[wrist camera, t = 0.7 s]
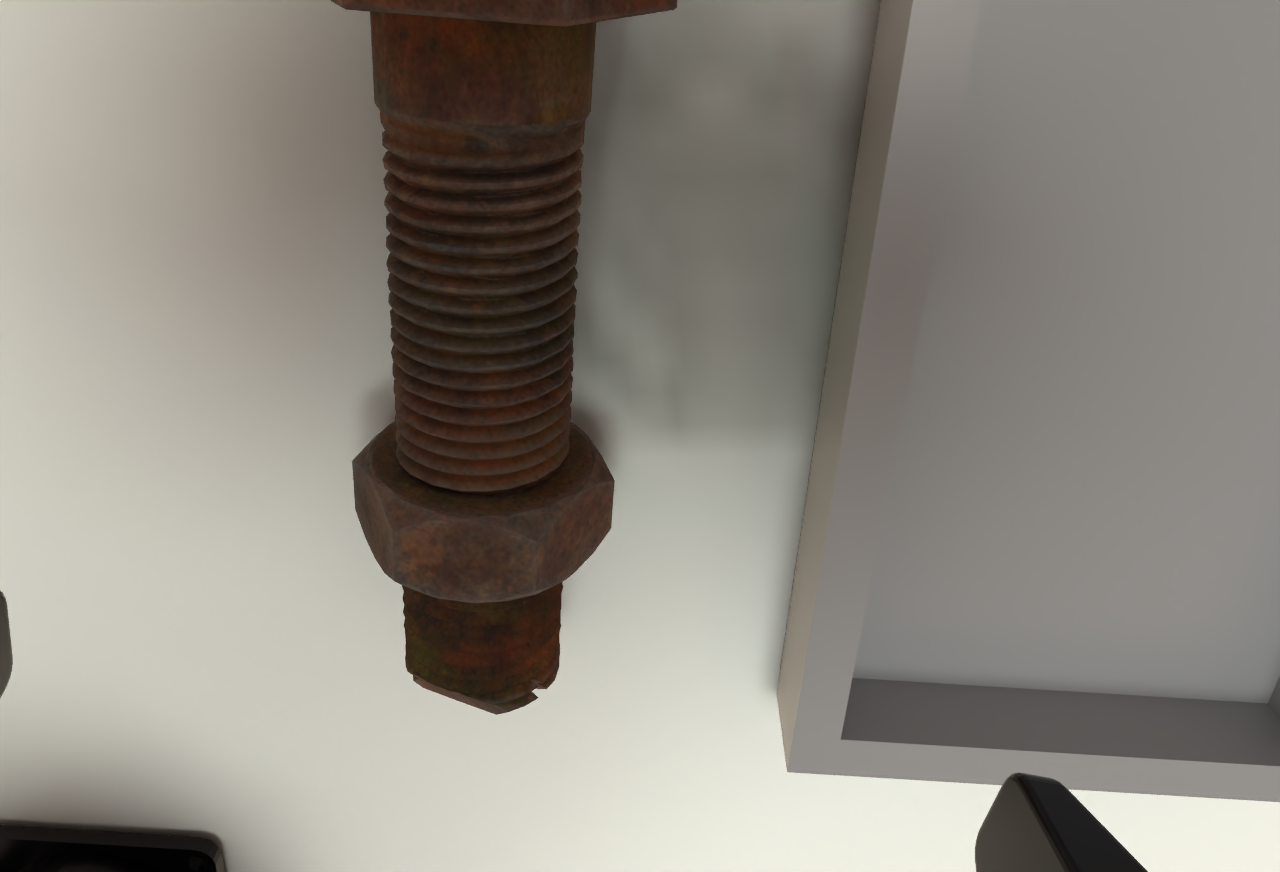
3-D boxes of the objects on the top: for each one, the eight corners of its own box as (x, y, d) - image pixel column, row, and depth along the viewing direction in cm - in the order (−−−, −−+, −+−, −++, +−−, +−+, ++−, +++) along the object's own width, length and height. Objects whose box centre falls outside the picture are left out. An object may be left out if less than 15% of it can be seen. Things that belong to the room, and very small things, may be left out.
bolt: (476, 565, 26) (475, -131, 19) (654, 646, 24) (731, -104, 16) (293, 702, 21) (196, -141, 14) (492, 817, 19) (498, -106, 12)
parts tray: (776, 693, 25) (787, 772, 23) (960, -530, 15) (1012, -603, 13) (1285, 724, 25) (1345, 805, 23) (1815, -473, 15) (2017, -537, 13)
